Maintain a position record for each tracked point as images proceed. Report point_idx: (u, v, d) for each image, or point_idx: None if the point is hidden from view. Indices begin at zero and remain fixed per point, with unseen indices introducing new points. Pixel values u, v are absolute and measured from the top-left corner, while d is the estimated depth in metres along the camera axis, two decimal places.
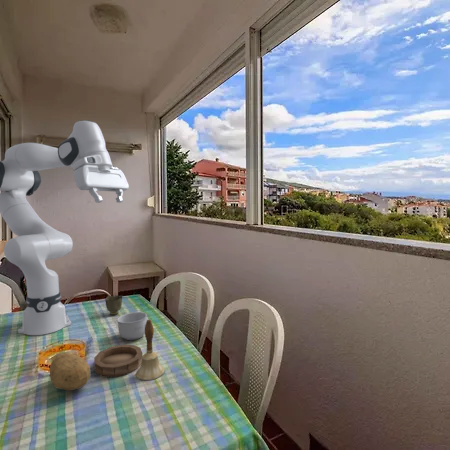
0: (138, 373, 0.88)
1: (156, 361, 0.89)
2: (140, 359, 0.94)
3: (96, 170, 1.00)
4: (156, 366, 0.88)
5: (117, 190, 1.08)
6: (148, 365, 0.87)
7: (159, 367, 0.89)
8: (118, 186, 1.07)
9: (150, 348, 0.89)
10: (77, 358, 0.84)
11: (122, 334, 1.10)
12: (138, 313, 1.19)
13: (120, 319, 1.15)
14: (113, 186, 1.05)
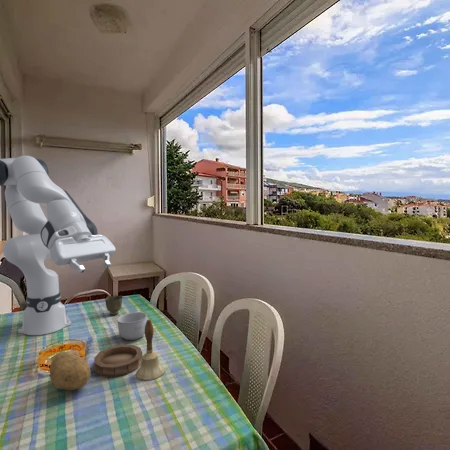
0: (138, 373, 0.88)
1: (156, 361, 0.89)
2: (140, 359, 0.94)
3: (72, 241, 0.95)
4: (156, 366, 0.88)
5: (103, 255, 1.01)
6: (148, 365, 0.87)
7: (159, 367, 0.89)
8: (102, 251, 1.00)
9: (150, 348, 0.89)
10: (77, 358, 0.84)
11: (122, 334, 1.10)
12: (138, 313, 1.19)
13: (120, 319, 1.15)
14: (95, 252, 0.98)
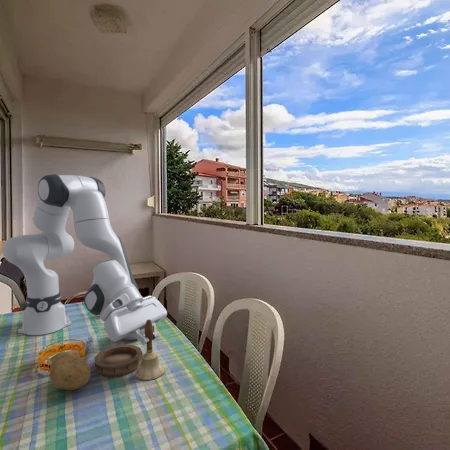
0: (138, 373, 0.88)
1: (156, 361, 0.89)
2: (140, 359, 0.94)
3: (126, 311, 0.88)
4: (156, 366, 0.88)
5: None
6: (148, 364, 0.87)
7: (159, 367, 0.89)
8: (155, 318, 0.93)
9: (150, 348, 0.89)
10: (77, 358, 0.84)
11: None
12: None
13: None
14: None
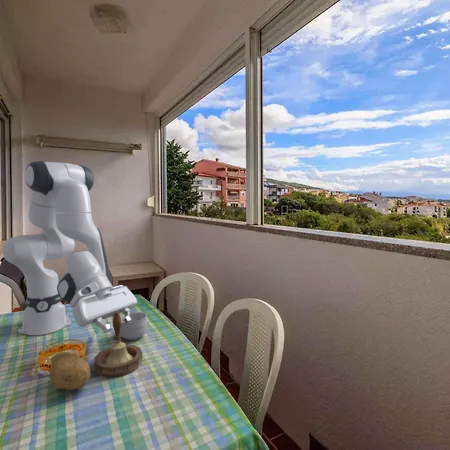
0: (106, 362, 0.92)
1: (124, 351, 0.93)
2: (140, 359, 0.94)
3: (95, 298, 0.93)
4: (124, 356, 0.92)
5: (123, 310, 0.98)
6: (115, 354, 0.91)
7: (127, 356, 0.93)
8: (124, 305, 0.98)
9: (118, 338, 0.93)
10: (77, 358, 0.84)
11: (122, 334, 1.10)
12: (138, 313, 1.19)
13: None
14: (118, 308, 0.96)
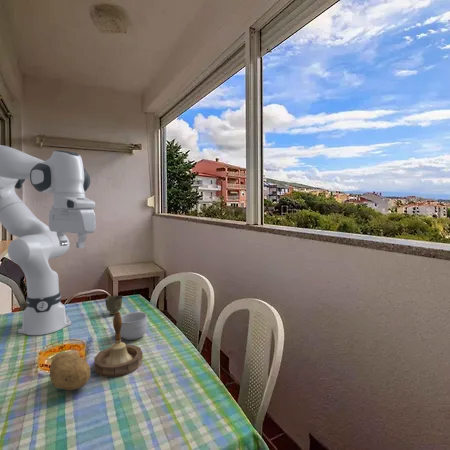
0: (106, 362, 0.92)
1: (124, 351, 0.93)
2: (140, 359, 0.94)
3: None
4: (124, 356, 0.92)
5: (62, 232, 0.97)
6: (115, 354, 0.91)
7: (127, 357, 0.93)
8: None
9: (118, 338, 0.93)
10: (77, 358, 0.84)
11: (122, 334, 1.10)
12: (138, 313, 1.19)
13: None
14: None
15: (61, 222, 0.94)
